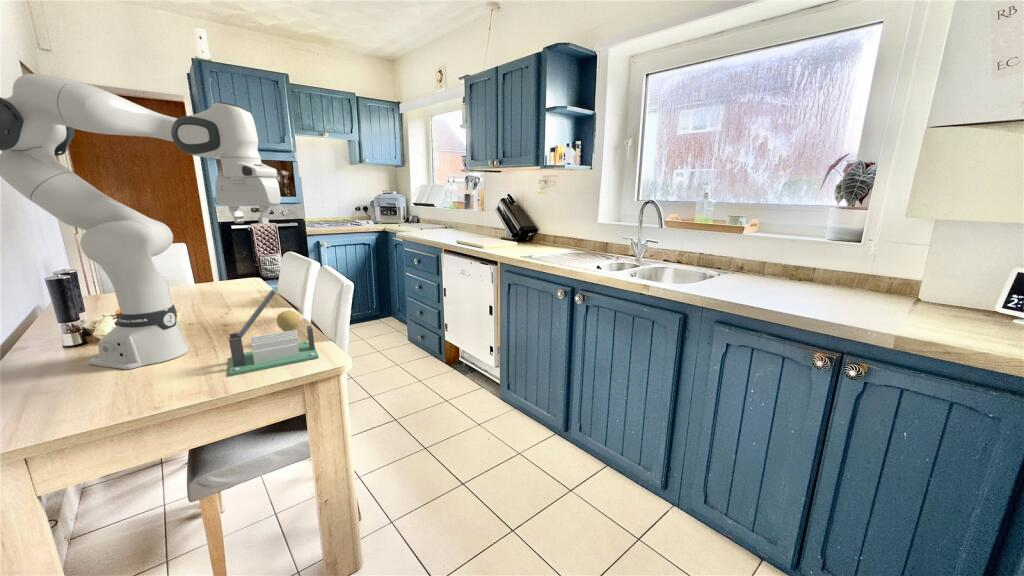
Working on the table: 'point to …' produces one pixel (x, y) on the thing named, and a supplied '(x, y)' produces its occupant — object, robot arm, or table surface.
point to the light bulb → (288, 321)
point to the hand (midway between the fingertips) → (251, 223)
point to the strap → (256, 314)
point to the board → (273, 363)
